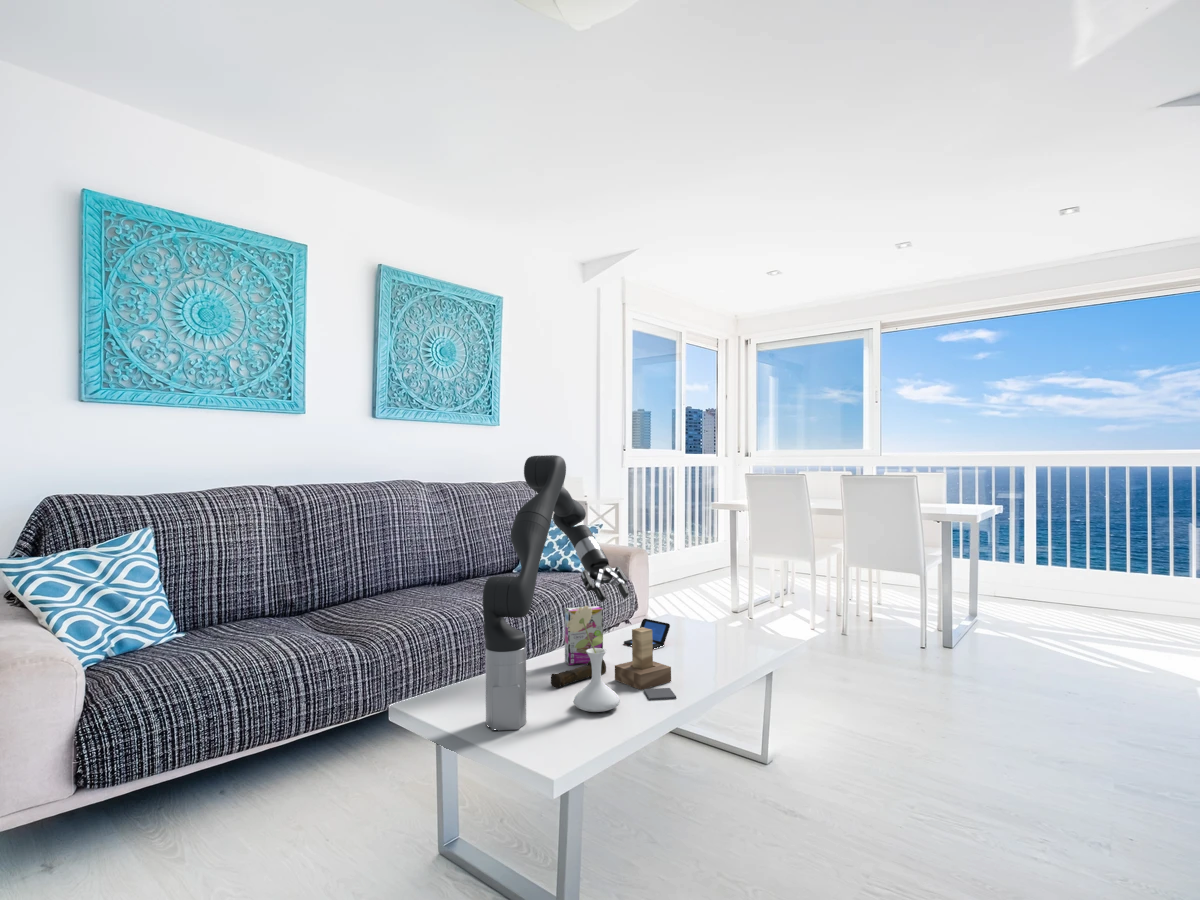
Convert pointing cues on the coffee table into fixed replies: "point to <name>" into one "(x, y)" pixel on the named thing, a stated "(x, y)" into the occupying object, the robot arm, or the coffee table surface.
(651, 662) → the oak peg
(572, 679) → the brown wooden log
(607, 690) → the flower in vase
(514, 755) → the coffee table surface
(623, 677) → the socket block
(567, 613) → the candy bar box
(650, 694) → the rubber pad
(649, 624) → the handheld game console
